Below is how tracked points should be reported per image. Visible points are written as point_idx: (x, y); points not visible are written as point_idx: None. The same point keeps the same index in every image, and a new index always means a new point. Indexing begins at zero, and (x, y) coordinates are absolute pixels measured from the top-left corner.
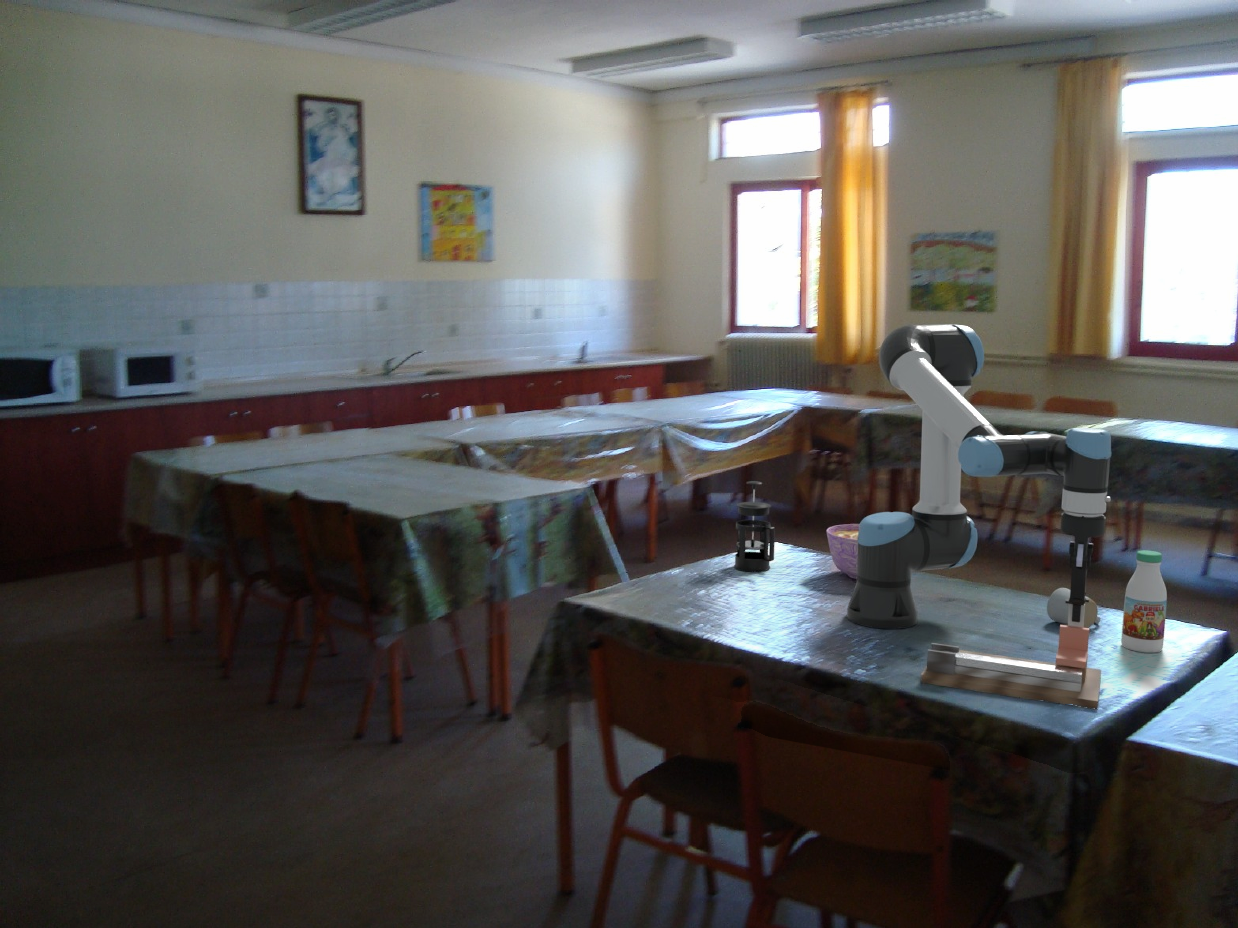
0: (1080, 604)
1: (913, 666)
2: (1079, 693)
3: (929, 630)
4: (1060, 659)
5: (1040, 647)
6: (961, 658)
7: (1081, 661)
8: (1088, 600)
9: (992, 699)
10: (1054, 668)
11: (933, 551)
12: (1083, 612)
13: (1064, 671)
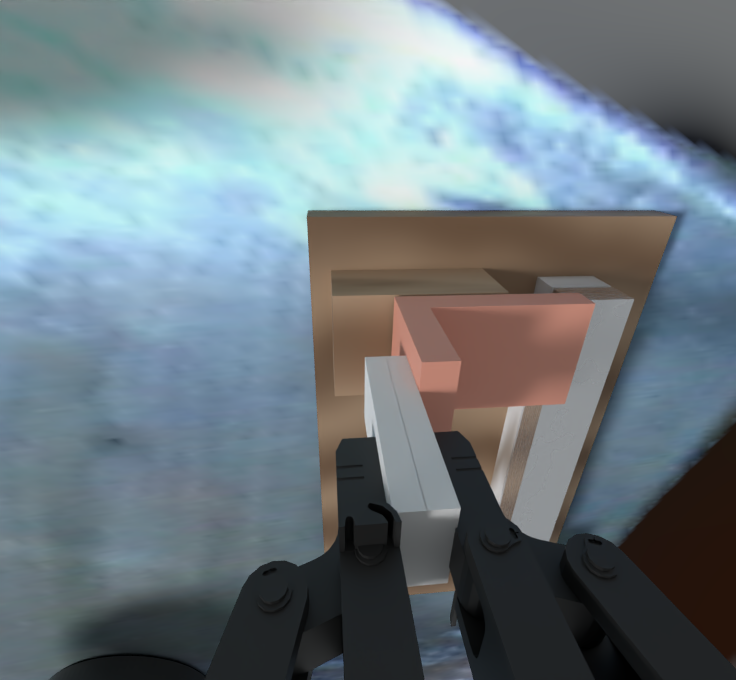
0: (543, 542)
1: (435, 593)
2: (607, 277)
3: (143, 628)
4: (565, 387)
5: (78, 416)
6: None
7: (588, 319)
8: (398, 519)
9: (610, 450)
10: (578, 384)
11: None
12: (440, 463)
13: (604, 354)
